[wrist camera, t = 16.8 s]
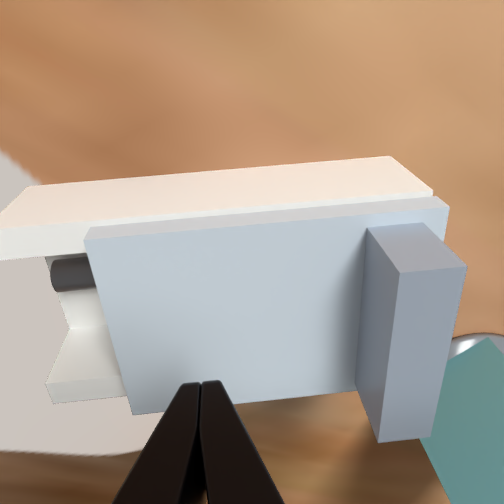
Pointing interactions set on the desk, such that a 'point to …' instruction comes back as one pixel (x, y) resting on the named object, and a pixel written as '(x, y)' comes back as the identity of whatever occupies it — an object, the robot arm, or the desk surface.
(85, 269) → the white channel beam
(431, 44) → the desk surface
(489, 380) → the teal box
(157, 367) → the cover
